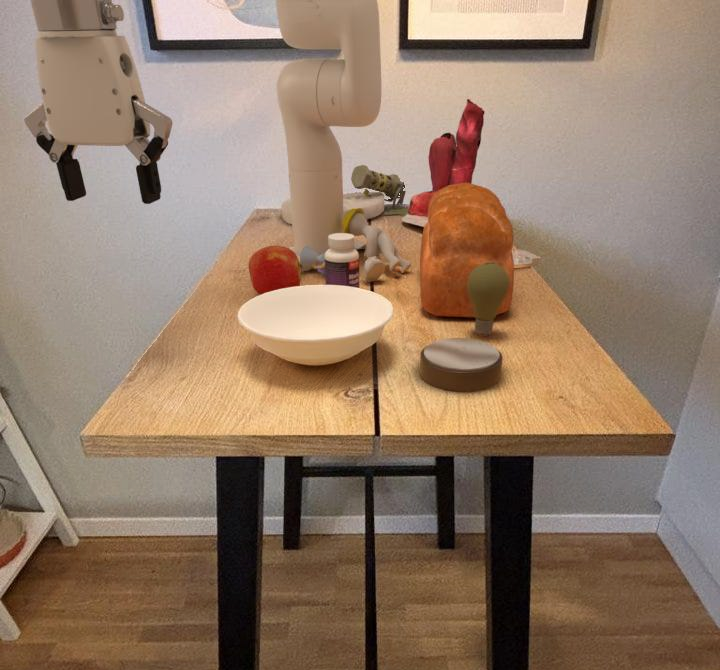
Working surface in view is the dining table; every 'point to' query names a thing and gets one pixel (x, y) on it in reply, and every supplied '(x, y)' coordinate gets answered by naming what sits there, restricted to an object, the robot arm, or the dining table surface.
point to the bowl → (316, 322)
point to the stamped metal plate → (524, 259)
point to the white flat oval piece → (348, 205)
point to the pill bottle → (341, 261)
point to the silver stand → (461, 364)
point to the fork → (359, 245)
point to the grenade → (379, 183)
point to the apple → (274, 269)
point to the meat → (450, 161)
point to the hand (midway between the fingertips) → (114, 199)
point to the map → (397, 211)
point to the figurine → (373, 245)
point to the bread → (462, 247)
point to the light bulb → (487, 294)
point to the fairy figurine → (311, 259)
